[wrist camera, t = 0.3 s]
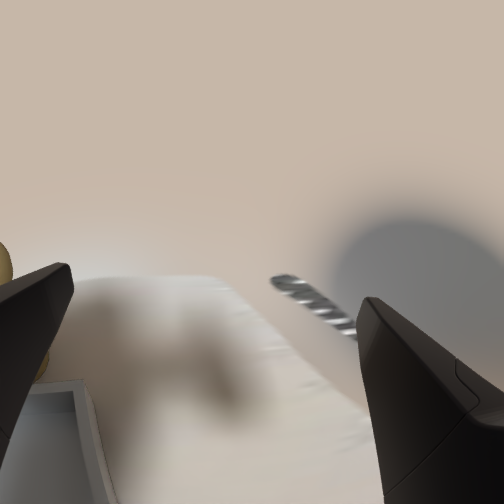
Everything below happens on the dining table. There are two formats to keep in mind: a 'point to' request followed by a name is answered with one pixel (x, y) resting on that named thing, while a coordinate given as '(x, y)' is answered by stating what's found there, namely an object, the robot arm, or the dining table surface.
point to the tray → (56, 450)
